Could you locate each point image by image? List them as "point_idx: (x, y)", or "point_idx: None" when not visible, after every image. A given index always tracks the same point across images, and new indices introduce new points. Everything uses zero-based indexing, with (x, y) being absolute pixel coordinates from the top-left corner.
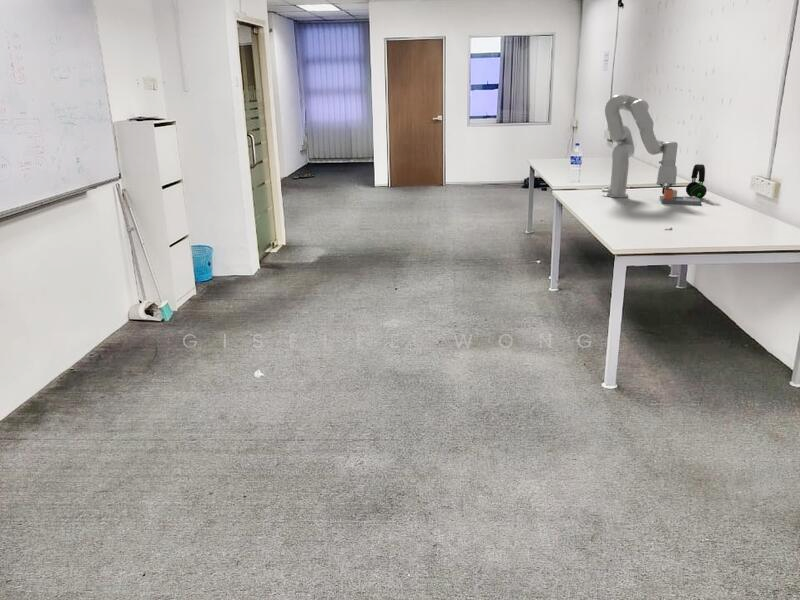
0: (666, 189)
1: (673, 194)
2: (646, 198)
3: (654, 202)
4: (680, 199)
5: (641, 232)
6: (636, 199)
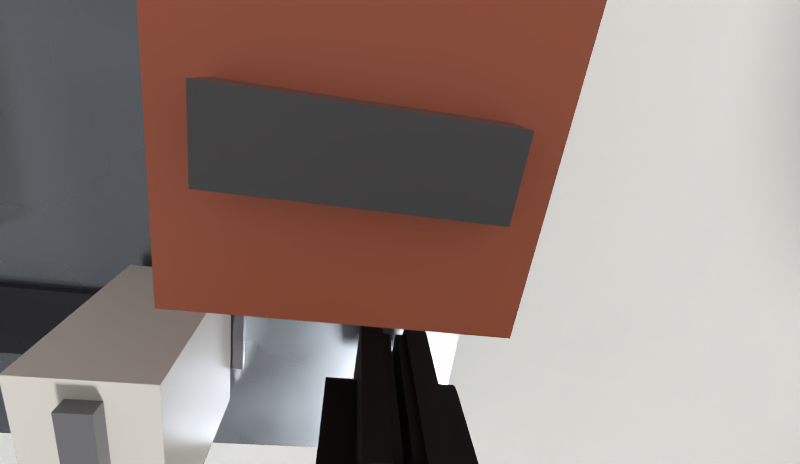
0: (500, 118)
1: None
2: (597, 430)
3: (625, 68)
4: (36, 61)
5: None
6: (786, 333)
